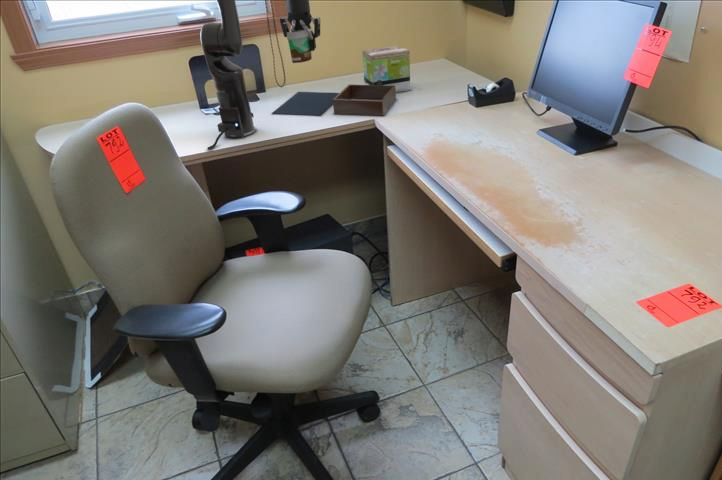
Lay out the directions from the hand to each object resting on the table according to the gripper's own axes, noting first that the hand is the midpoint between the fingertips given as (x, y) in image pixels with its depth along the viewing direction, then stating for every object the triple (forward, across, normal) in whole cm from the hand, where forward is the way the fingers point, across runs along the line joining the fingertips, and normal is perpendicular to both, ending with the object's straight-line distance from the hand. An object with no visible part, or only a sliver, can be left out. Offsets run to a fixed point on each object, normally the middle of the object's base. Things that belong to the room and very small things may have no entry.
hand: (304, 50), depth 191 cm
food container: (+3, 0, 0) cm, 3 cm away
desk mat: (+19, -1, 0) cm, 19 cm away
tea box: (+19, +24, +18) cm, 36 cm away
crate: (+19, +21, -1) cm, 28 cm away
